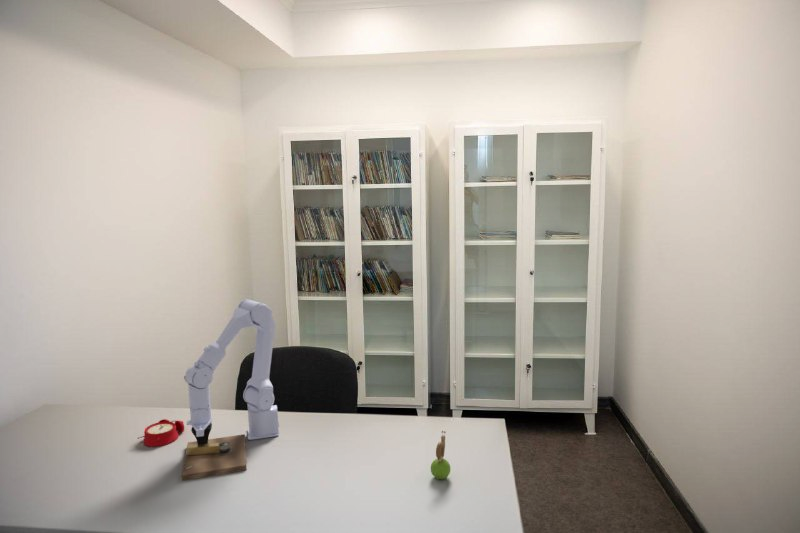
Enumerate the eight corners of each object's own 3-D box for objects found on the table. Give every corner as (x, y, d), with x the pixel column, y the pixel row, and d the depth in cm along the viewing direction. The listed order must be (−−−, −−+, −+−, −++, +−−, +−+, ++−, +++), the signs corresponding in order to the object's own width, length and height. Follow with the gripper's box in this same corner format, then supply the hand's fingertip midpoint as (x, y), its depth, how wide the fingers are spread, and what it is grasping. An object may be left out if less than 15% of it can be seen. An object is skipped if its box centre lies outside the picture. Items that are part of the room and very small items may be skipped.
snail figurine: (453, 472, 148) (453, 431, 146) (447, 484, 142) (447, 442, 140) (434, 469, 150) (434, 429, 148) (428, 481, 144) (428, 439, 142)
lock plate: (245, 438, 170) (244, 433, 170) (246, 469, 151) (246, 464, 151) (188, 446, 165) (187, 441, 165) (182, 480, 146) (181, 474, 146)
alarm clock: (132, 436, 165) (162, 407, 178) (136, 452, 167) (166, 422, 181) (161, 439, 163) (189, 409, 176) (165, 456, 165) (193, 425, 178)
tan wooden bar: (231, 447, 160) (230, 441, 160) (228, 453, 157) (228, 446, 157) (189, 450, 159) (188, 443, 158) (186, 456, 156) (185, 449, 155)
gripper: (187, 398, 163) (190, 439, 165) (183, 417, 149) (187, 462, 151) (212, 395, 165) (214, 436, 167) (210, 414, 151) (213, 458, 153)
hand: (203, 448), depth 159 cm, fingers closed, pressing on tan wooden bar
